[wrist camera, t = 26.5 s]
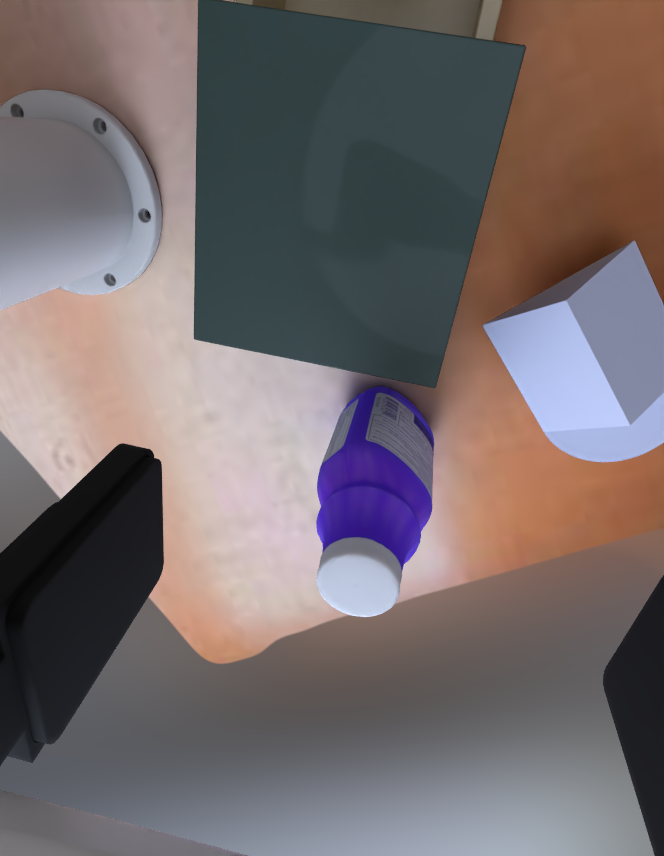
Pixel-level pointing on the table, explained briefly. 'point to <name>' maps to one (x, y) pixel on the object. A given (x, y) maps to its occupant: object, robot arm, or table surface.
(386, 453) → the bottle
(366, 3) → the drawer
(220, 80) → the cabinet
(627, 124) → the table surface
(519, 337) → the wedge on round base
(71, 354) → the table surface
